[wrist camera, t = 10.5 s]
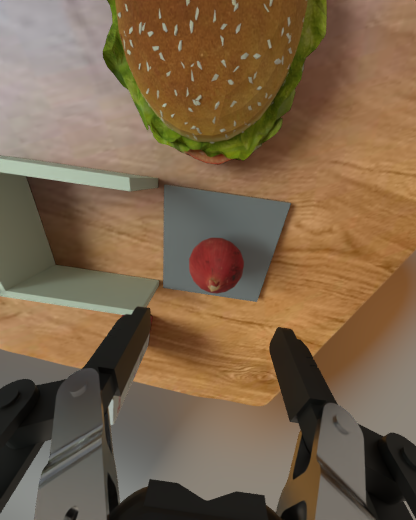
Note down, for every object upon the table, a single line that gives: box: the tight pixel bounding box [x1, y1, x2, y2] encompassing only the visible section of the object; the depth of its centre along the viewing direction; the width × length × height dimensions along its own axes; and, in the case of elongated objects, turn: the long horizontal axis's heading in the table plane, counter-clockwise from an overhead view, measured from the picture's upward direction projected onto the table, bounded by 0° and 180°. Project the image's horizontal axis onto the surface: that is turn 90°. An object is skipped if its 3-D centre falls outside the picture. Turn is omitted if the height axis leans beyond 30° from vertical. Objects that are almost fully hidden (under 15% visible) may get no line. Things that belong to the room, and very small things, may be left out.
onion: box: [189, 238, 244, 293], centre depth 17 cm, size 6×6×8 cm
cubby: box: [0, 155, 159, 315], centre depth 19 cm, size 17×15×6 cm
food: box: [103, 0, 327, 164], centre depth 11 cm, size 14×14×8 cm
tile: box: [163, 184, 291, 302], centre depth 21 cm, size 14×14×1 cm
